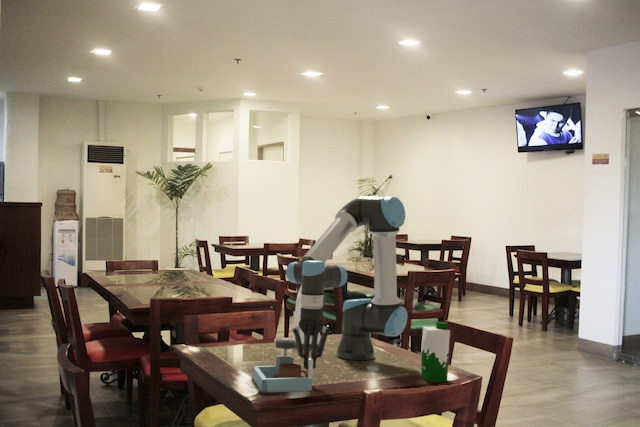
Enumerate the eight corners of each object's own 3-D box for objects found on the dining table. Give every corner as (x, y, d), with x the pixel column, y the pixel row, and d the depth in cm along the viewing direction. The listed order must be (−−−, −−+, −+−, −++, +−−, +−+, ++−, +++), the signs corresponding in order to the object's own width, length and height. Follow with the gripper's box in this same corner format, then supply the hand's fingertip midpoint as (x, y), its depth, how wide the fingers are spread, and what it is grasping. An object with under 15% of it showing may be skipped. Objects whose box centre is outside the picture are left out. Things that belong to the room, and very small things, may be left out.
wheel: (292, 353, 224) (293, 337, 224) (297, 358, 218) (297, 341, 218) (273, 354, 222) (273, 337, 223) (277, 358, 216) (278, 341, 216)
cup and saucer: (308, 381, 212) (309, 362, 212) (306, 390, 200) (307, 371, 201) (273, 379, 213) (274, 360, 213) (268, 388, 201) (269, 369, 201)
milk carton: (450, 382, 218) (452, 324, 218) (424, 382, 217) (426, 324, 217) (443, 376, 226) (445, 320, 226) (418, 376, 226) (420, 320, 226)
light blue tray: (293, 372, 224) (294, 355, 224) (311, 390, 200) (312, 371, 200) (248, 373, 219) (249, 355, 219) (262, 392, 196) (262, 373, 196)
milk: (292, 343, 275) (295, 283, 276) (293, 338, 287) (295, 281, 287) (320, 344, 275) (322, 284, 276) (319, 339, 287) (322, 282, 287)
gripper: (295, 308, 204) (292, 382, 204) (334, 308, 207) (331, 380, 207) (290, 305, 211) (287, 376, 211) (327, 305, 215) (324, 375, 214)
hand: (309, 378), depth 209 cm, fingers closed
